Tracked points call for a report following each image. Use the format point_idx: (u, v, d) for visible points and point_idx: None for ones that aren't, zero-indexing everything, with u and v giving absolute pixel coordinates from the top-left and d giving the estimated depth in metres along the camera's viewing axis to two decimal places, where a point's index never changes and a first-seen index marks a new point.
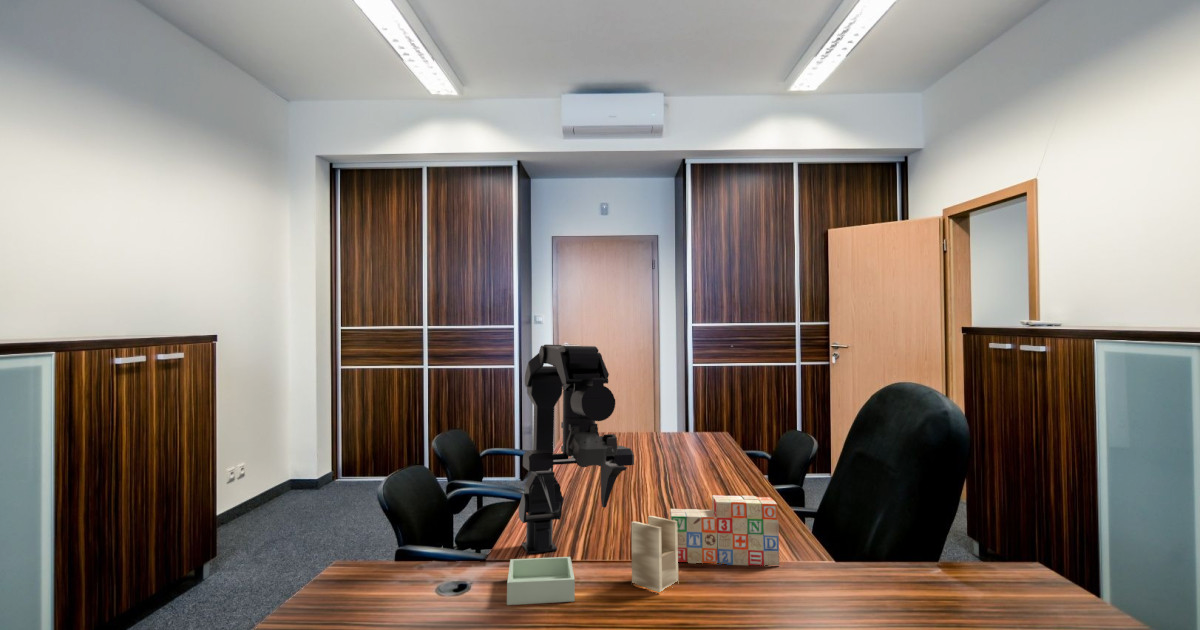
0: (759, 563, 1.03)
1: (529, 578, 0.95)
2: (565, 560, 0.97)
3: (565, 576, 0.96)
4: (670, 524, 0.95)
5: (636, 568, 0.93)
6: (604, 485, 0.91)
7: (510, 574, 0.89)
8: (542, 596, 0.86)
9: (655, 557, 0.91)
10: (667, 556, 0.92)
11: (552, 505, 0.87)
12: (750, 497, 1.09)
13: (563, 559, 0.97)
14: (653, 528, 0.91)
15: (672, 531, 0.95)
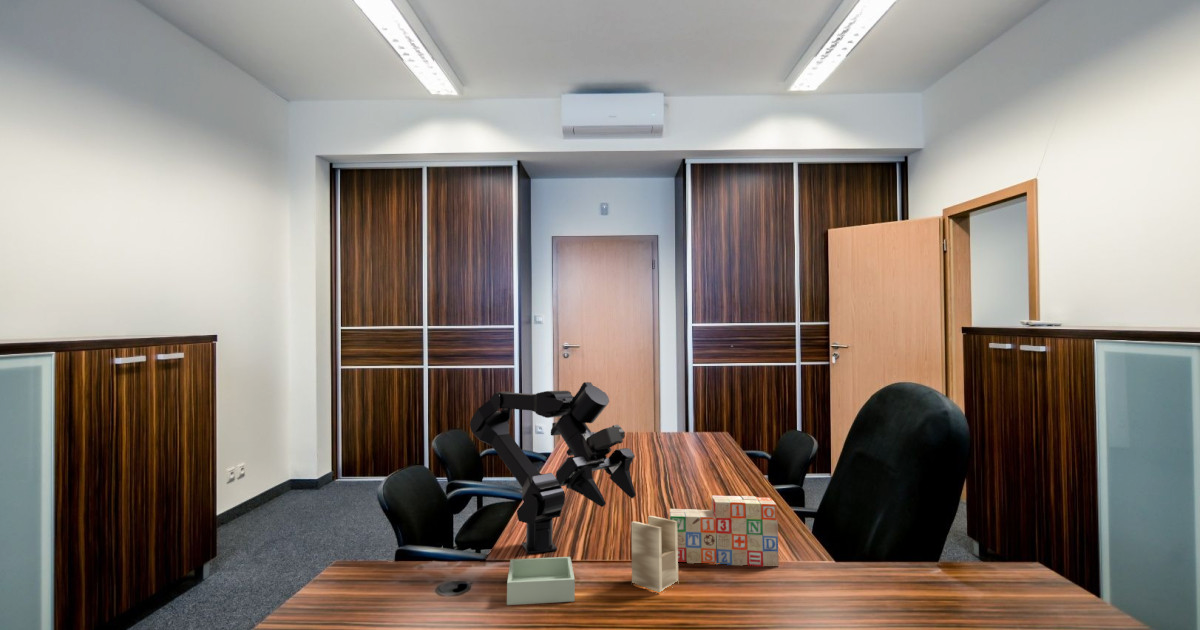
0: (758, 563, 1.03)
1: (529, 578, 0.95)
2: (565, 560, 0.97)
3: (565, 576, 0.96)
4: (670, 524, 0.95)
5: (636, 568, 0.93)
6: (624, 481, 1.06)
7: (510, 574, 0.89)
8: (542, 596, 0.86)
9: (655, 557, 0.91)
10: (667, 556, 0.92)
11: (601, 497, 0.97)
12: (749, 497, 1.08)
13: (563, 559, 0.97)
14: (653, 528, 0.91)
15: (672, 531, 0.95)
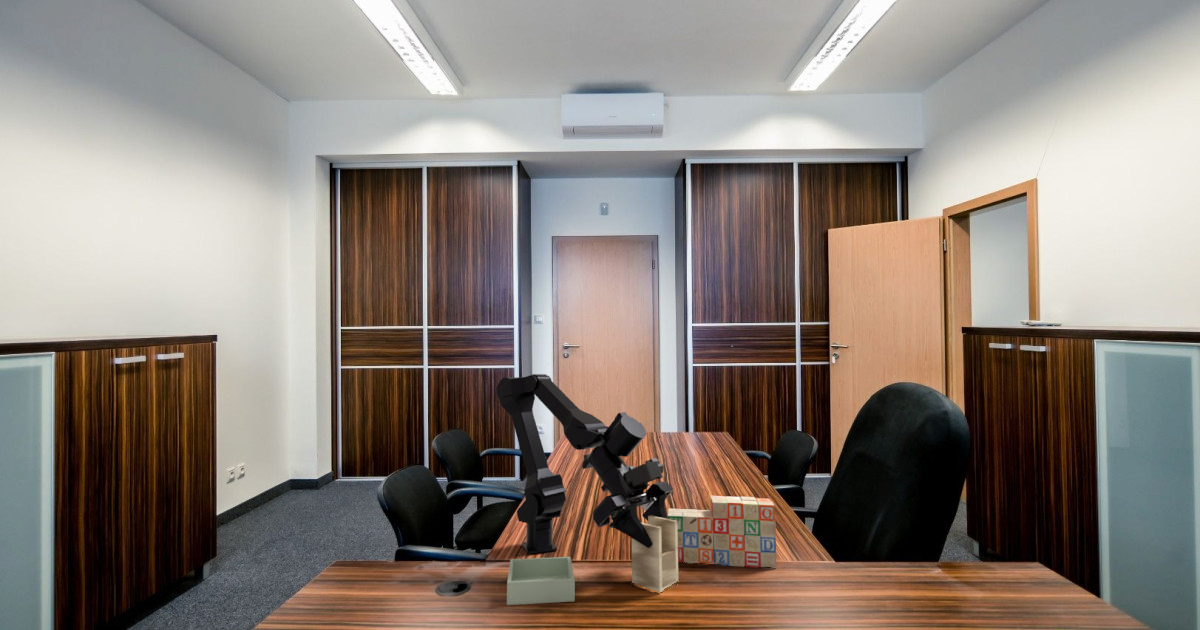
0: (756, 564, 1.02)
1: (529, 578, 0.95)
2: (565, 560, 0.97)
3: (565, 576, 0.96)
4: (670, 524, 0.95)
5: (636, 568, 0.93)
6: None
7: (510, 574, 0.89)
8: (542, 596, 0.86)
9: (655, 557, 0.91)
10: (667, 556, 0.92)
11: (648, 538, 0.91)
12: (748, 498, 1.08)
13: (563, 559, 0.97)
14: (653, 528, 0.91)
15: (672, 531, 0.95)
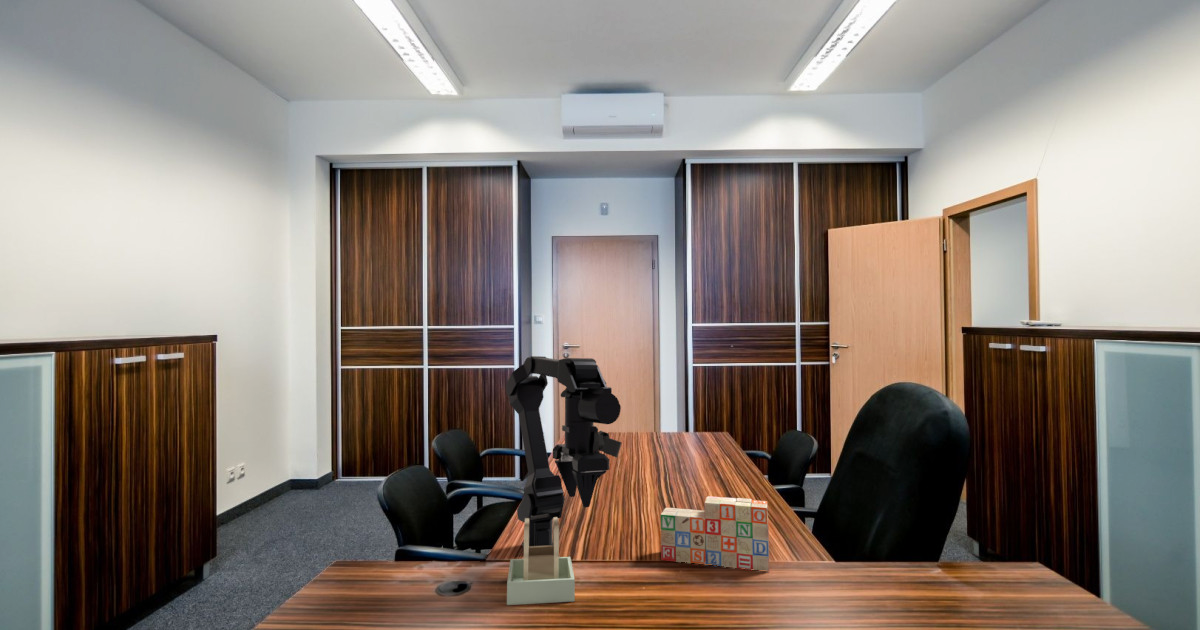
0: (748, 567, 1.01)
1: None
2: (565, 560, 0.97)
3: (565, 576, 0.96)
4: None
5: None
6: (572, 478, 1.06)
7: (510, 574, 0.89)
8: (542, 596, 0.86)
9: None
10: (539, 559, 0.89)
11: (590, 500, 0.97)
12: (744, 500, 1.06)
13: (563, 559, 0.97)
14: (524, 527, 0.90)
15: (554, 536, 0.90)
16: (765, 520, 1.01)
